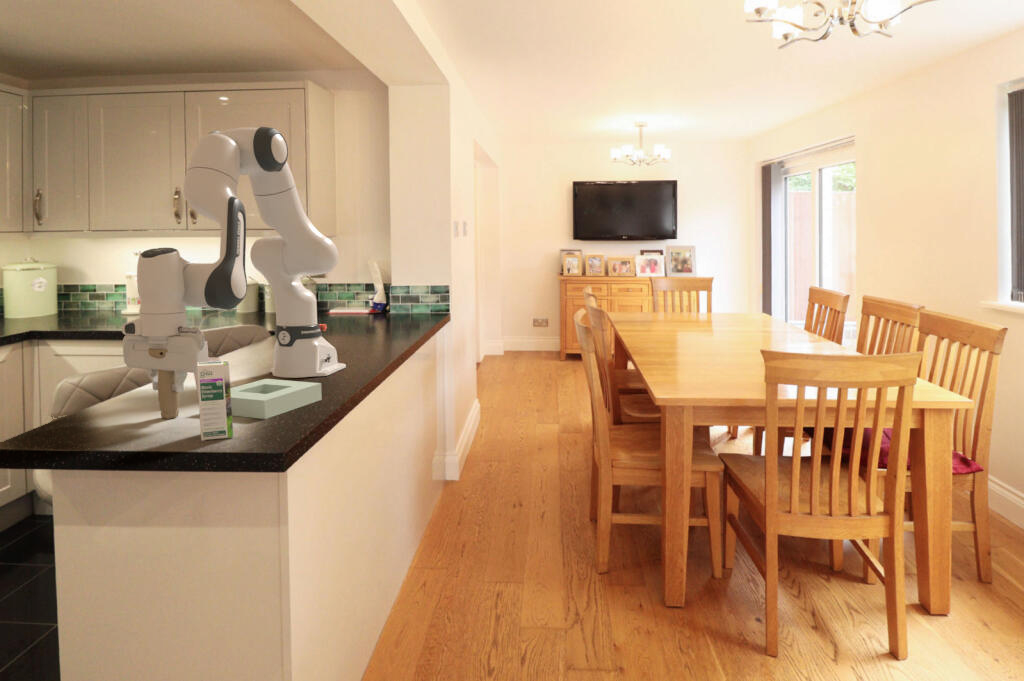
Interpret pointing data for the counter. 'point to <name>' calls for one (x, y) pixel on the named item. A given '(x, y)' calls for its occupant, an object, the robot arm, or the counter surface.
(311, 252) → the robot arm
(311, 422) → the counter surface
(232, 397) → the square frame with hole
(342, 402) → the counter surface
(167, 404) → the handle
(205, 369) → the syrup box
